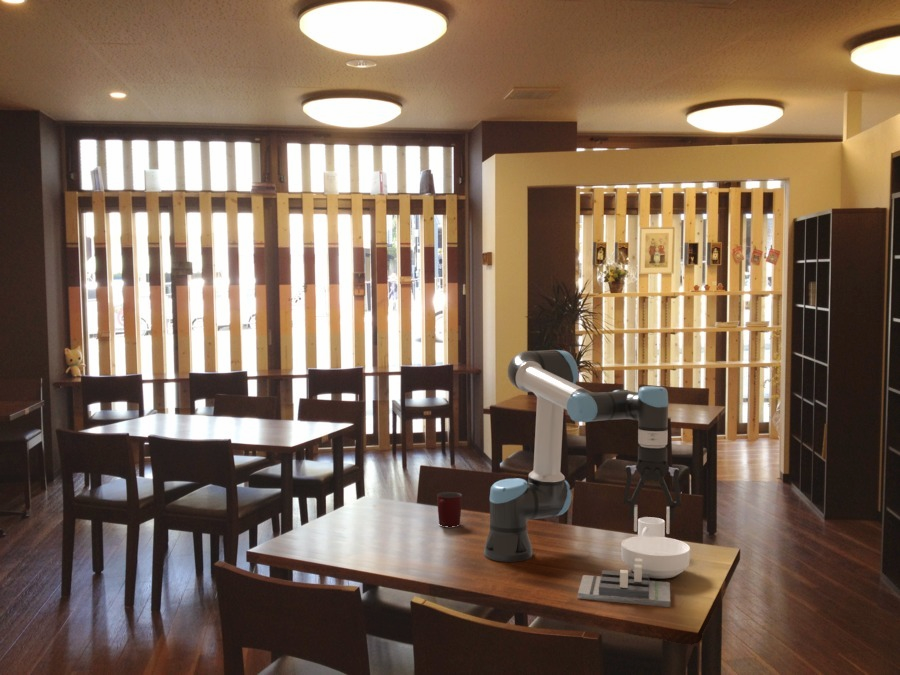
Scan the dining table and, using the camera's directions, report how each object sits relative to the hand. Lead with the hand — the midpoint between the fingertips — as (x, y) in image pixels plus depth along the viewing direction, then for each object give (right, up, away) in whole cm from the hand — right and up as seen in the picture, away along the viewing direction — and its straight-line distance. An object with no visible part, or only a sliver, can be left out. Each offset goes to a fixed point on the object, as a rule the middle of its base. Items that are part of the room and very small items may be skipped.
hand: (651, 531), depth 212 cm
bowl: (+7, -19, +24) cm, 31 cm away
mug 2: (+10, -18, +43) cm, 48 cm away
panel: (-5, -19, +8) cm, 21 cm away
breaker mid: (-2, -15, +7) cm, 17 cm away
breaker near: (-7, -15, +2) cm, 17 cm away
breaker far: (-1, -15, +12) cm, 19 cm away
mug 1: (-54, -16, +74) cm, 93 cm away
